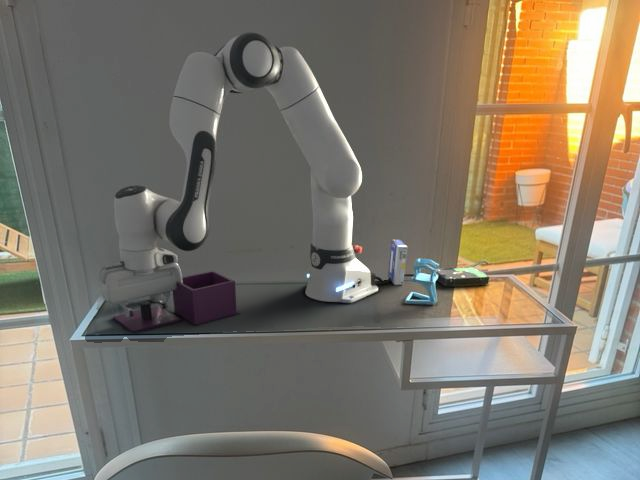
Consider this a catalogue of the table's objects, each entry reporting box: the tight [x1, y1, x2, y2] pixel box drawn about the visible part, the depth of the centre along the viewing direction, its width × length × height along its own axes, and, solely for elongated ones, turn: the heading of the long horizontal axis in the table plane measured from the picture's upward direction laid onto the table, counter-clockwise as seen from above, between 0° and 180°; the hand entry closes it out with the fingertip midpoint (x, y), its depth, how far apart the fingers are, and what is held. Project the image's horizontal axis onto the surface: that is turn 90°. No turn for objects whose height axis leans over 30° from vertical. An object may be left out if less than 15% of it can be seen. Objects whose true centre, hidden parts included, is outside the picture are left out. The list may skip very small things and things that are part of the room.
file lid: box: [112, 300, 182, 334], centre depth 150 cm, size 13×11×5 cm
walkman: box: [387, 239, 408, 286], centre depth 181 cm, size 8×3×12 cm, turn 10°
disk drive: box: [436, 266, 490, 288], centre depth 186 cm, size 10×3×15 cm
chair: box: [404, 258, 440, 306], centre depth 167 cm, size 8×8×12 cm
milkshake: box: [148, 293, 163, 303], centre depth 160 cm, size 4×5×10 cm
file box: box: [172, 270, 237, 325], centre depth 154 cm, size 13×11×9 cm
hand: (146, 312), depth 150 cm, fingers open, 8 cm apart
